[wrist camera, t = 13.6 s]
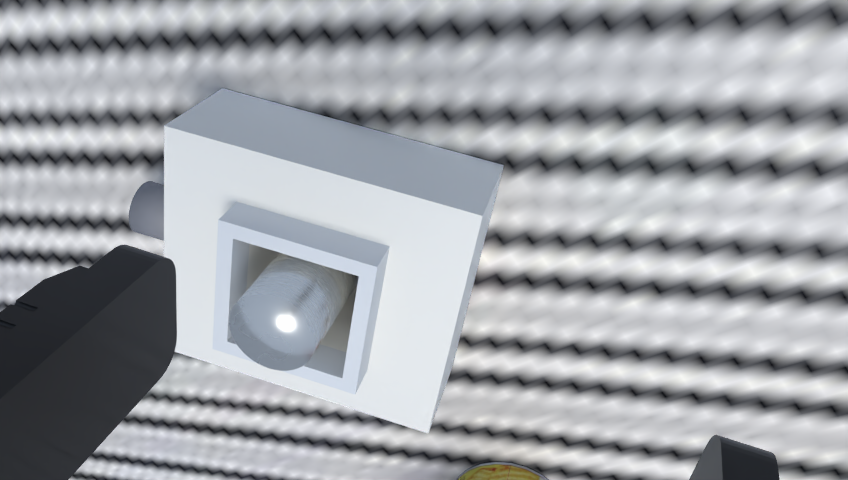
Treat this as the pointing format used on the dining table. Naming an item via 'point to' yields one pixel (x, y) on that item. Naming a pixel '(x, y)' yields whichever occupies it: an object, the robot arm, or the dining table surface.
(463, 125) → the dining table surface
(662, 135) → the dining table surface
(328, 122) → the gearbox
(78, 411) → the robot arm
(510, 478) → the canned food
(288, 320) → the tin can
